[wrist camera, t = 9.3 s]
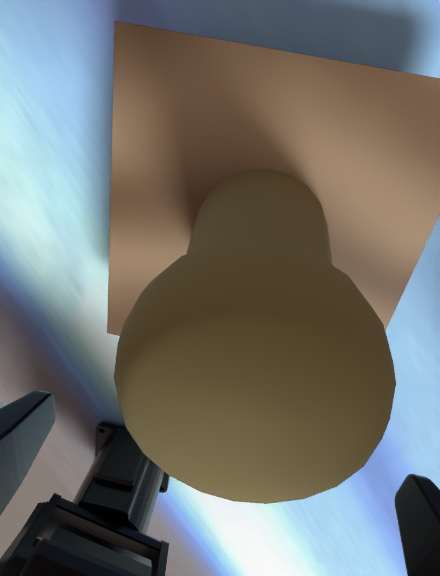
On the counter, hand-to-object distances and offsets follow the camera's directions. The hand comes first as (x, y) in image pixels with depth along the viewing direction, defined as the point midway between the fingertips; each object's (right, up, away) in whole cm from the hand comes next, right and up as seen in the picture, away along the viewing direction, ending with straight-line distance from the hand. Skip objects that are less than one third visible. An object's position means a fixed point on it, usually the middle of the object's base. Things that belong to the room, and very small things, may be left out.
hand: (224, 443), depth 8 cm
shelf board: (+2, +7, +8) cm, 10 cm away
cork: (+2, +6, +7) cm, 9 cm away
